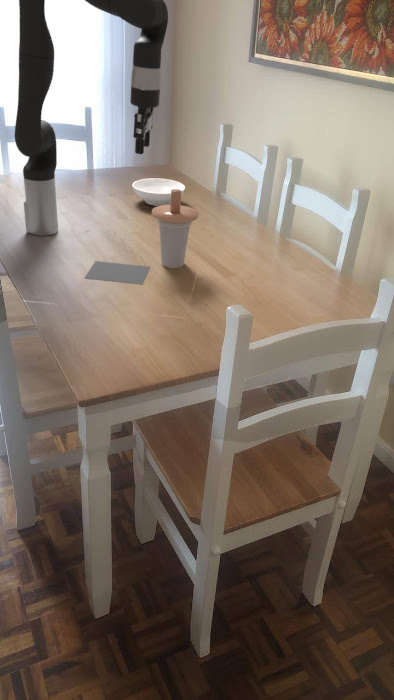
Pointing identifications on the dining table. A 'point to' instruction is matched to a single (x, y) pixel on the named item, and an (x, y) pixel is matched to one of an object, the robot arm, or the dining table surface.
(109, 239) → the dining table surface
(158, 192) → the bowl
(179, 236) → the coffee cup
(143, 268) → the mat
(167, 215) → the lid
